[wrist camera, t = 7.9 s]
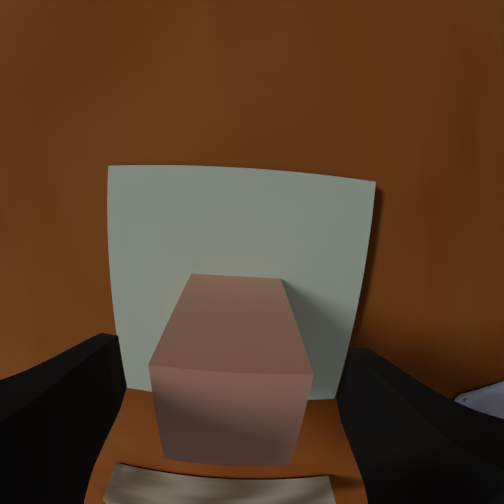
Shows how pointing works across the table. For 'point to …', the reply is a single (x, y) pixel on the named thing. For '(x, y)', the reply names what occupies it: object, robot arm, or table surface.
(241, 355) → the terracotta block
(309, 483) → the slot housing
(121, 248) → the mat
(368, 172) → the table surface
